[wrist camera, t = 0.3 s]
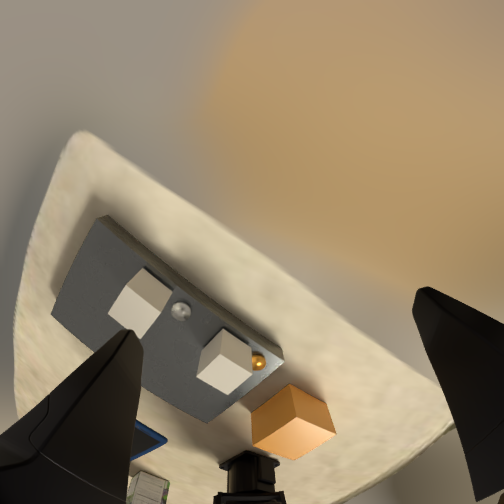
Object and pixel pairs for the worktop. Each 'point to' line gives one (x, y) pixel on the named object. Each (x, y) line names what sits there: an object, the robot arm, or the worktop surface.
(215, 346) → the light grey block
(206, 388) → the panel
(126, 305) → the block
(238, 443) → the worktop surface
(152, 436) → the cell phone
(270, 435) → the orange squarish block
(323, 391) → the worktop surface
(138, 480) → the syrup box
